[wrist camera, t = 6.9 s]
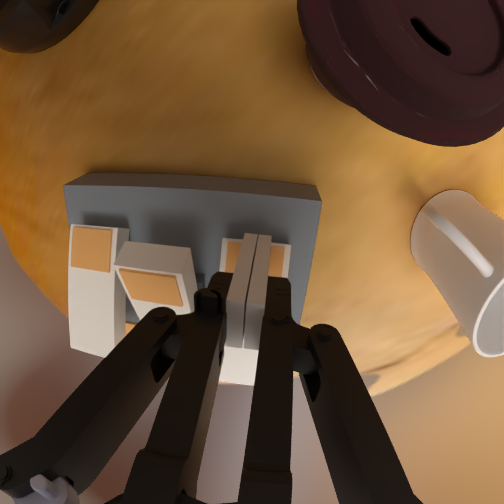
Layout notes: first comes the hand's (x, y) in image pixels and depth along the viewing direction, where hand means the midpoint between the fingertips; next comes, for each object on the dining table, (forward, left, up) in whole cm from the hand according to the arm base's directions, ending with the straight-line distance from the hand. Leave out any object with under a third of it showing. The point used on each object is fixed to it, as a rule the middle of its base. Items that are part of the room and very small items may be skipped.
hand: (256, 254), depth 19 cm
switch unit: (+5, -6, -7) cm, 10 cm away
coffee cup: (-13, +6, -7) cm, 16 cm away
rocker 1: (+5, -12, 0) cm, 13 cm away
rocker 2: (+4, -6, -1) cm, 8 cm away
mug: (-1, +16, -7) cm, 18 cm away
